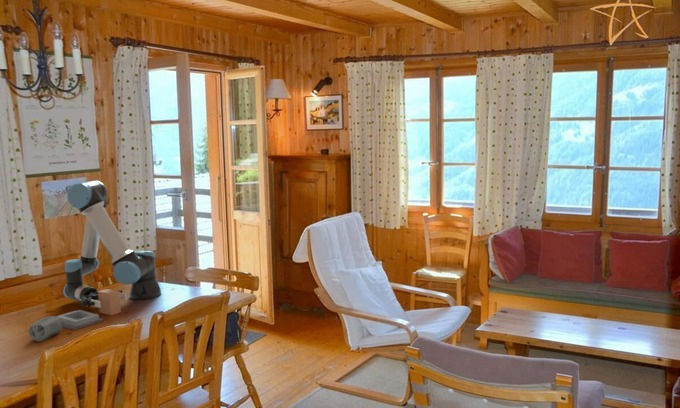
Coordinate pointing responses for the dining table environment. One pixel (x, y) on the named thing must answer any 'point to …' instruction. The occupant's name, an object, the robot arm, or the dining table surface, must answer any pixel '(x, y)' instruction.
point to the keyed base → (78, 319)
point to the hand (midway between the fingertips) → (113, 300)
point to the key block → (109, 301)
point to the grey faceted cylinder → (45, 328)
